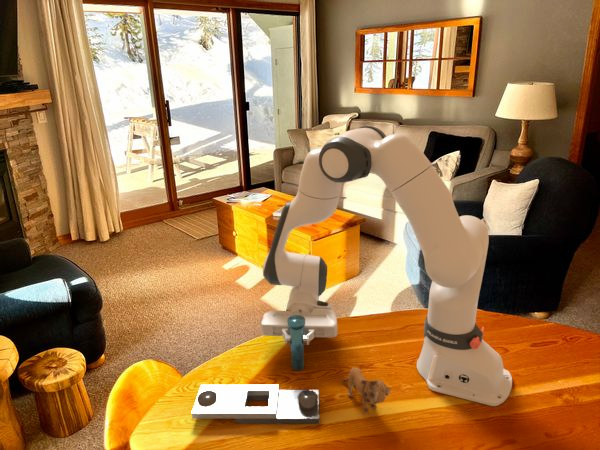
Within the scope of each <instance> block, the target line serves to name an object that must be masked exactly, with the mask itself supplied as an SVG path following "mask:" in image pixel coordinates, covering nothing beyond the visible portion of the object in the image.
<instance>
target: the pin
mask: <svg viewBox="0 0 600 450" xmlns="http://www.w3.org/2000/svg"><path fill="white" fill-rule="evenodd" d="M287 322H288V327H290V336H291V344H290V353H291V354H290V355H291V368H292V370H294V371H301V370H303V369H304V368H305V351H304V350H305V349H304V348H305V347H304V346H305V345H303V327H304V326H305V318H304V317H303V316H300V315H294V316H291V317H289V318H288V320H287Z"/></svg>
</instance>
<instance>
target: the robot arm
mask: <svg viewBox="0 0 600 450" xmlns="http://www.w3.org/2000/svg"><path fill="white" fill-rule="evenodd" d="M370 174H372V175H376V176H378V177H379V178H380V179H381V181H382V182H383V183H384V184H385V187H386V188H387V189H388V190H389V192H390V194H391V195H392V196H393V199H395V201H396V203H397V204H398V206H399V207H400V209H401V210H402V212H403V213H404V215H405V216H406V219H407V220H408V222H409V224H410V225H411V228H412V231H413V233H414V235H415V237H416V240H417V243H418V245H419V247H420V250H421V253H422V256H423V261H424V270H425V271H426V275H427V276H428V277H429V279H430V280H431V283H430V288H429V295H428V308H427V316H426V317H425V321H424V324H423V325H424V327H423V337H424V340H423V344H422V348H421V352H420V355H419V357H418V359H417V361H416V368H417V371H418V373H419V375H420V376H421V377H422V378H423V379H424V380H425V382H426V383H427V387H428V389H430V391H433V392H436V393H440V394H444V395H448V396H452V397H456V398H460V399H463V400H467V401H472V402H476V403H479V404H482V405H487V406H490V407H497V406H499V405H501V404H503V403H504V402H505V401H506V400H507V399H508V397H510V394H511V391H512V387H513V377H512V374H511V372H510V371H509V370H507V369H505V368H504V363H503V359H502V356H501V354H499V353H498V352H497V351H496V350H494V348H493V347H492V346H490V345H489V344H488V343H487V342H486V341H485V340H484V339H483V337H484V334H483V333H484V330H485V326H482V328H479V326H478V325H477V323H476V320H477V312H478V311H477V310H478V303H479V297H480V293H481V292H480V291H481V288H482V287H481V286H482V282H483V276H484V272H485V266H486V260H487V255H488V249H489V243H490V242H489V239H490V237H489V231H488V228H487V226H486V224H485V223H484V221H482V220H481V219H480V218H479V217H476V216H473V215H461V216H459V213H458V211H457V208H456V206H455V202H454V198H453V195H452V192H451V191H450V189H449V187H448V186H447V184H446V183H445V182H444V181H443V179H442V177H441V176H440V175H439V173H438V172H437V170H436V169H435V167H434V166H433V164H432V162H431V161H430V160H429V158H427V156H426V154H425V153H424V152H423V151H422V149H420V148H419V147H418V145H417V144H416V143H415V142H414V141H413V140H412V139H411V138H410V137H409V136H407V135H406V134H404V133H399V132H398V133H391V134H390V135H386V133H385V132H384V131H382V130H381V129H380V128H378V127H375V126H373V125H364V126H360V127H357V128H355V129H350V130H347V131H344V132H342V133H340V134H339V135H337V136H335V137H332V138H330V139H329V140H328V141H327V142H326V143H325V144H324V145H323V146H322V147H317V148H313V149H312V150H310V151H309V152H308V153H307V154H306V156H305V158H304V161H303V164H302V168H301V172H300V175H299V181H298V187H297V192H296V195H295V197H294V198H293V199H292V200H291V201H290V200H289V201H287V202H286V203H285V205H284V206H283V208H282V211H281V213H280V216H279V219H278V222H277V224H276V227H275V231H274V234H273V238H272V241H271V245H270V248H269V251H268V253H267V255H266V257H265V259H264V261H263V265H262V276H263V278H264V279H265V280H266V281H267V282H268V283H269V284H270V285H271V286H272V285H273V286H274V285H275V286H285V287H286V286H287V287H291V289H290V292H289V295H288V301H287V304H286V308H285V310H269V311H267V312H264V313H263V315H262V320H261V322H260V331H261V334H262V335H263V336H264V337H270V336H271V337H282V339H283V340H284V344H285V345H291V336H290V327H288V322H287V320H288V318H289V317H291V316H294V315H300V316H303V317H304V318H305V326H304V327H303V345H304V346H308V345H310V342H311V341H312V340H314V338H331V339H332V338H335V337H337V336H338V318H337V315H336V313H335V311H334V307H333V304H332V303H331V302H327V301H322V300H320V296H322V294H323V293H324V292H325V290H326V286H327V279H328V278H327V277H328V265H327V263H326V261H325V260H324V258H322V257H321V256H318V255H317V256H316V255H313V254H304V253H297V252H291V251H290V252H289V251H287V250H286V249H285V248H286V245H287V242H288V238H289V237H290V234H291V232H292V231H293V230H294V229H296V228H297V229H298V228H300V227H303V226H308V225H314V224H319V223H321V222H324V221H326V220H329V218H331V217H332V216H333V215H334V214H335V213H336V211H337V208H338V206H339V202H340V201H339V200H340V198H341V197H340V196H341V190H342V186H343V185H342V184H343V183H349V182H353V181H356V180H360V179H364V178H367V177H368V176H369V175H370Z"/></svg>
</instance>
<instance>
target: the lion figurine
mask: <svg viewBox="0 0 600 450" xmlns="http://www.w3.org/2000/svg"><path fill="white" fill-rule="evenodd" d="M342 382H343V383H348V393H347V396H348V398H352V397H353V396H354V394H353V390H352V389H353V387H355V389H356V391H357V392H358V394H359V395H360V396H361V400H362V414H364V415H365V414H366V415H367V414H369V408H368V403H369V406H370V408H371V409H376V408H377V404H379V403H383V402H385V400H386V399H387V398H386V396H389V394H390V393H391V390H392V389H391V387H389V386H387V385H386V384H385V383H384V381H383V380H381V379H375V380H368V379H367V378H365V376H364V375H363V373H362V370H361V369H360V368H359V367H354V366H353V367H352V368H351V369H350V371H349V375H348V378H346V379H342Z"/></svg>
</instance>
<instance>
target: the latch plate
mask: <svg viewBox="0 0 600 450" xmlns="http://www.w3.org/2000/svg"><path fill="white" fill-rule="evenodd" d="M319 391H320V390H319V389H279V384H201V385H200V387H199V390H198V393H197V396H196V399H195V402H194V405H193V408H192V410H191V417H192V419H195V420H196V419H198V420H199V419H201V420H202V419H205V420H206V419H208V420H209V419H211V420H212V419H223V420H224V419H228V420H230V419H233V420H235V424H236V425H242V424H243V425H248V424H249V425H259V424H260V425H265V424H266V425H270V424H271V425H319V424H320V392H319ZM249 401H268V406H248V403H249Z"/></svg>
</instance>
